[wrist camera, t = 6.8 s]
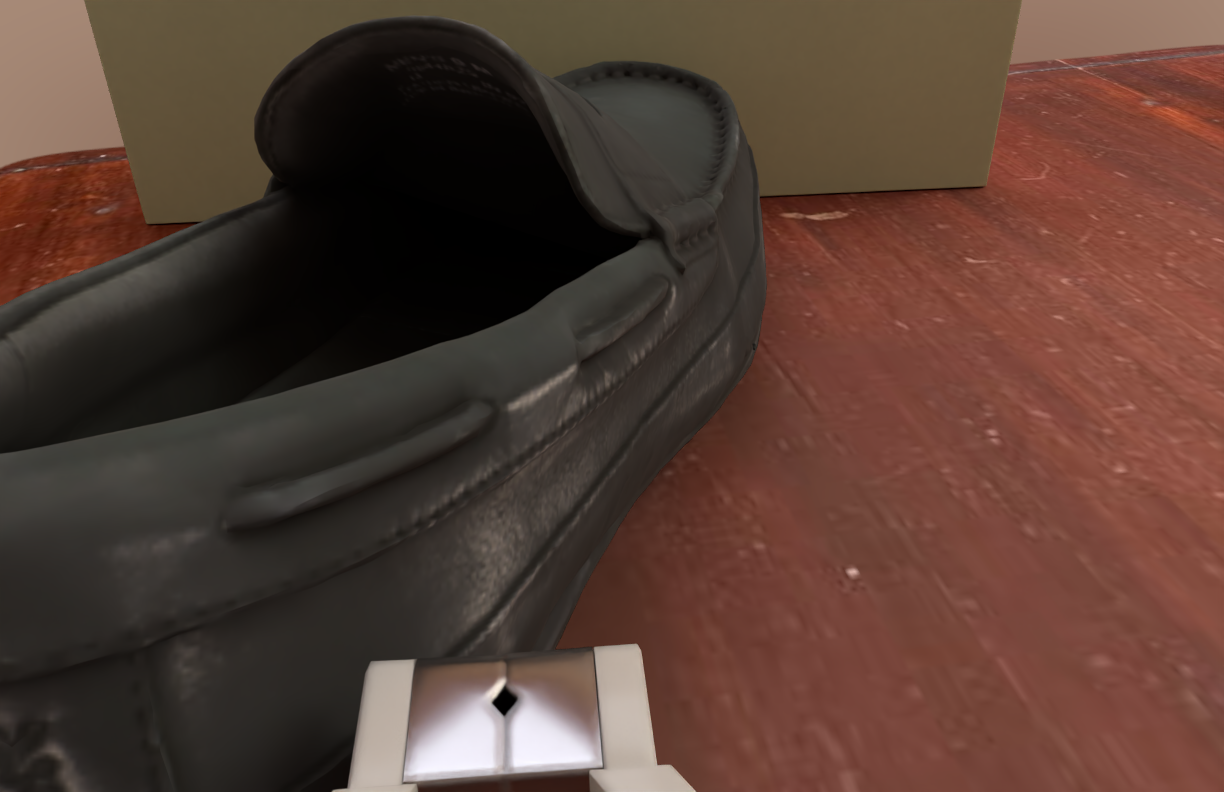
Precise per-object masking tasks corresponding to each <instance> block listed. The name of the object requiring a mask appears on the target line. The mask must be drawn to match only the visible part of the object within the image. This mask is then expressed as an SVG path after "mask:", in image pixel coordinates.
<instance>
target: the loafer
mask: <svg viewBox="0 0 1224 792" xmlns="http://www.w3.org/2000/svg"><path fill="white" fill-rule="evenodd" d="M254 140H255V143H256V145H257V149H258V153H259V155H260V157H261V159H262V161H263V162H264V163H265V164H266V166H267V167H268V168H269V170H270V171H271V172H272V174H273V175H272V176H271V178H270V180H269V183H268V186H267V188H266V191H265V193H264V196H263V198H262V199H260V200H257V201H255V202H253V203H250V204H247V205H245V206H242V207H239V208H236V209H233V210H230V211H227V212H224V213H222V214H219V215H216V216H213V217H211V218H209V219H207V220H205V221H203V222H201V223H198V224H196V225H193V226H191V227H188V228H186V229H183V230H181V231H178V232H176V233H174V234H171V235H169V236H167V237H164V238H162V239H160V240H158V241H155V242H153V243H151V244H148V245H146V246H144V247H142V248H139V249H137V250H135V251H132V252H130V253H128V254H125V255H123V256H120V257H118V258H115V259H113V260H110V261H108V262H105V263H103V264H100V265H97V266H95V267H92V268H89V269H86V270H84V271H81V272H79V273H76V274H73V275H70V276H67V277H65V278H62V279H59V280H56V281H53V282H51V283H48V284H46V285H44V286H41V287H39V288H36V289H34V290H32V291H29V292H27V293H25V294H23V295H21V296H19V297H17V298H15V299H13V300H11V301H10V302H8V303H6V304H4V305H2V306H0V792H332V791H333V790H337V789H347V787H348V780H349V774H350V768H351V761H352V755H353V748H354V742H355V736H356V729H357V723H358V717H359V710H360V704H361V697H362V691H363V685H364V678H365V673H366V671H367V669H368V666H369V664H370V662H371V661H389V660H411V659H417V658H440V657H463V656H487V655H505V654H508V653H520V652H533V651H546V650H555V648H556V646H557V644H558V642H559V640H560V638H561V636H562V634H563V632H564V630H565V628H566V625H567V623H568V621H569V619H570V617H571V615H572V613H573V610H574V608H575V606H576V604H577V602H578V600H579V597H580V595H581V593H582V590H583V589H584V587H585V585H586V583H587V581H588V580H589V578H590V576H591V574H592V572H593V570H594V569H595V567H596V565H597V563H598V562H599V560H600V558H601V557H602V555H603V554H604V552H605V550H606V549H607V547H608V545H609V544H610V542H611V540H612V538H613V536H614V535H615V533H616V531H617V529H618V527H619V526H620V524H621V522H622V521H623V519H624V518H625V516H626V515H627V513H628V512H629V510H630V509H631V507H632V506H633V504H634V502H635V501H636V500H637V499H638V497H639V496H640V495H641V494H642V493H643V492H644V490H645V489H646V488H647V487H648V486H649V485H650V483H651V482H652V481H653V479H654V478H655V477H656V475H657V474H658V473H659V471H660V470H661V469H662V468H663V467H664V466H665V465H666V464H667V463H668V462H669V461H670V460H671V459H672V458H673V457H674V456H675V455H676V454H677V452H678V451H679V450H680V449H681V448H682V447H683V446H684V445H685V444H686V443H688V442H689V441H690V440H691V439H692V437H693V436H694V435H695V434H696V433H697V432H698V431H699V430H700V429H701V428H702V427H703V426H704V425H705V424H706V423H707V422H708V421H709V420H710V419H711V418H712V416H713V415H714V414H715V413H716V412H717V411H718V410H719V408H720V407H721V406H722V404H723V403H724V401H725V399H726V398H727V396H728V395H729V394H730V393H731V392H732V390H733V389H734V388H735V387H736V385H737V384H738V383H739V381H740V380H741V379H742V377H743V376H744V375H745V373H746V371H747V370H748V368H749V367H750V366H751V363H752V360H753V357H754V354H755V351H756V349H757V346H758V340H759V335H760V328H761V321H762V313H763V310H764V306H765V299H766V289H767V279H766V263H765V251H764V249H765V248H764V238H763V225H762V212H761V205H760V189H759V181H758V174H757V168H756V165H755V161H754V157H753V151H752V149H751V147H750V145H749V144H748V143H747V138H746V135H745V133H744V131H743V129H742V127H741V124H740V121H739V119H738V114H737V111H736V108H735V105H734V102H733V100H732V99H731V97H730V95H729V94H728V93H727V91H726V90H723V88H722V87H721V86H720V85H719V84H718V83H717V82H716V81H714V80H711V79H709V78H706V77H704V76H702V75H699V74H697V73H694V72H691V71H689V70H686V69H682V68H678V67H674V66H669V65H665V64H660V63H651V62H640V61H603V62H599V63H596V64H593V65H591V66H588V67H582V68H578V69H575V70H572V71H569V72H567V73H564V74H562V75H559V76H556V77H554V78H551V77H549V76H547V75H545V74H544V73H542V72H540V71H538V70H537V69H535V68H533V67H532V66H531V65H530V64H529V63H528V62H527V61H526V60H525V59H524V58H523V57H521V56H520V55H519V54H518V53H517V52H515V51H514V50H513V49H512V48H510V47H509V46H508V45H507V44H506V43H505V42H504V41H503V40H501V39H500V38H498V37H496V36H495V35H493V34H491V33H490V32H489V31H488V30H486V29H484V28H482V27H479V26H477V25H474V24H468V23H466V22H463V21H459V20H454V19H449V18H444V17H439V16H415V15H411V16H402V17H390V18H381V19H373V20H368V21H364V22H360V23H356V24H352V25H350V26H347V27H345V28H342V29H340V30H338V31H336V32H334V33H332V34H330V35H328V36H326V37H324V38H322V39H320V40H319V41H318V42H316V43H315V44H313V45H312V46H311V47H309V48H308V49H307V50H305V51H304V52H302V53H301V54H299V55H298V56H296V57H295V58H293V59H292V60H291V61H290V62H289V63H288V64H287V65H286V66H285V67H284V68H283V69H282V71H281V72H280V73H279V74H278V75H277V76H276V77H275V78H274V80H273V81H272V83H271V84H270V86H269V88H268V89H267V91H266V92H265V94H264V96H263V98H262V100H261V103H260V105H259V107H258V110H257V112H256V114H255V117H254Z"/></svg>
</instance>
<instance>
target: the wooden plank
mask: <svg viewBox="0 0 1224 792" xmlns="http://www.w3.org/2000/svg"><path fill="white" fill-rule="evenodd" d="M84 1H85V4H86V9H87V12H88V16H89V19H90V23H91V27H92V30H93V33H94V38H95V41H96V45H97V48H98V52H99V56H100V59H101V63H102V66H103V70H104V74H105V77H106V81H107V84H108V88H109V92H110V95H111V99H112V102H113V106H114V110H115V113H116V117H117V121H118V124H119V128H120V131H121V135H122V139H123V142H124V146H125V149H126V153H127V157H128V160H129V164H130V168H131V171H132V175H133V178H134V182H135V186H136V189H137V193H138V196H139V200H140V204H141V207H142V211H143V214H144V218H145V222H146V224H162V223H184V222H203V221H205V220H207V219H209V218H211V217H213V216H216V215H219V214H222V213H224V212H227V211H230V210H233V209H236V208H239V207H242V206H245V205H247V204H250V203H253V202H255V201H257V200H260V199H262V198H263V196H264V193H265V191H266V188H267V186H268V183H269V180H270V178H271V176H272V175H273V174H272V172H271V171H270V170H269V168H268V167H267V166H266V164H265V163H264V162H263V161H262V159H261V157H260V155H259V153H258V149H257V145H256V143H255V140H254V117H255V114H256V112H257V110H258V107H259V105H260V103H261V100H262V98H263V96H264V94H265V92H266V91H267V89H268V88H269V86H270V84H271V83H272V81H273V80H274V78H275V77H276V76H277V75H278V74H279V73H280V72H281V71H282V69H283V68H284V67H285V66H286V65H287V64H288V63H289V62H290V61H291V60H292V59H293V58H295V57H296V56H298V55H299V54H301V53H302V52H304V51H305V50H307V49H308V48H309V47H311V46H312V45H313V44H315V43H316V42H318V41H319V40H320V39H322V38H324V37H326V36H328V35H330V34H332V33H334V32H336V31H338V30H340V29H342V28H345V27H347V26H350V25H352V24H356V23H360V22H364V21H368V20H373V19H381V18H390V17H402V16H411V15H415V16H439V17H444V18H449V19H454V20H459V21H463V22H466V23H468V24H474V25H477V26H479V27H482V28H484V29H486V30H488V31H489V32H490V33H491V34H493V35H495V36H496V37H498V38H500V39H501V40H503V41H504V42H505V43H506V44H507V45H508V46H509V47H510V48H512V49H513V50H514V51H515V52H517V53H518V54H519V55H520V56H521V57H523V58H524V59H525V60H526V61H527V62H528V63H529V64H530V65H531V66H532V67H533V68H535V69H537V70H538V71H540V72H542V73H544V74H545V75H547V76H549V77H551V78H554V77H556V76H559V75H562V74H564V73H567V72H569V71H572V70H575V69H578V68H582V67H588V66H591V65H593V64H596V63H599V62H603V61H640V62H651V63H660V64H665V65H669V66H674V67H678V68H682V69H686V70H689V71H691V72H694V73H697V74H699V75H702V76H704V77H706V78H709V79H711V80H714V81H716V82H717V83H718V84H719V85H720V86H721V87H722V88H723V90H726V91H727V93H728V94H729V95H730V97H731V99H732V100H733V102H734V105H735V108H736V111H737V114H738V119H739V121H740V124H741V127H742V129H743V131H744V133H745V135H746V138H747V143H748V144H749V145H750V147H751V149H752V151H753V157H754V161H755V165H756V168H757V174H758V181H759V189H760V196H781V195H804V194H826V193H848V192H870V191H892V190H914V189H936V188H958V187H980V186H986V184H987V179H988V174H989V169H990V163H991V158H992V153H993V148H994V143H995V138H996V132H997V127H998V122H999V117H1000V112H1001V107H1002V101H1003V96H1004V91H1005V86H1006V81H1007V76H1008V70H1009V65H1010V60H1011V55H1012V50H1013V44H1014V39H1015V34H1016V29H1017V24H1018V18H1019V13H1020V8H1021V3H1022V0H84Z"/></svg>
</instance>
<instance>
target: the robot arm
mask: <svg viewBox="0 0 1224 792" xmlns="http://www.w3.org/2000/svg"><path fill="white" fill-rule="evenodd" d="M332 792H696V791H695V790H694V789H693V788H692V787H691V786H690V785H689V784H688V782H687V781H686V780H685V779H684V778H683V777H682V776H681V775H680V774H679V773H678V772H677V771H676V770H675V769H674V768H673V767H672V765H657V760H656V753H655V746H654V739H653V731H652V724H651V717H650V710H649V703H648V696H647V689H646V682H645V675H644V668H643V661H642V653H641V650H640V648H639V646H638V645H637V644H627V645H614V646H600V647H594V649H593V650H592V647H584V648H571V649H558V650H546V651H533V652H520V653H508V654H505V655H487V656H463V657H440V658H417V659H411V660H389V661H371V662H370V664H369V666H368V669H367V671H366V673H365V678H364V685H363V691H362V697H361V704H360V710H359V717H358V723H357V729H356V736H355V742H354V748H353V755H352V761H351V768H350V774H349V780H348V787H347V789H337V790H333V791H332Z"/></svg>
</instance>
